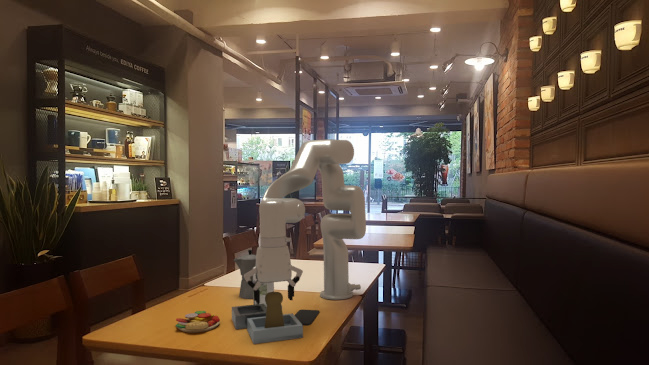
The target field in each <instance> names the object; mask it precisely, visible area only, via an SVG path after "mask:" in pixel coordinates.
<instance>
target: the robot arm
mask: <svg viewBox="0 0 649 365" xmlns="http://www.w3.org/2000/svg"><path fill="white" fill-rule="evenodd" d="M354 148H355V147H354V145H353V144H352V142H351V141H349V140H347V139H316V140H315V139H313V140H306V141H305V142H303V143H302V144H301V145H300V148H299V149H298V152H297V153H296V156H295V158H294V160H293V162H292V165H291V167H290V169H289V170H288V171H287V172H285V173H284V174H282V175H281V176H280V177H278V178H277V179H276V180H274V181H273V182H271V184H270V185H269V186H268V187H267V188H266V190H265V192H264V194H263V196H262V199H261V200H260V203H259V207H258V212H259V244H260V245H259V246H258V247H257V249H256V254H255V255H256V267H255V268H254V269H252V270H251V271H249V272H247V273H246V274H244V278H245V280H246V281H247V283H248V285H249V286H251V287H252V288H253V289H254V301H256V303H257V304H259V303H260V290H259V287H260V285H261V284H262V283H271V282H274V283H278V282H287V283H288V284H287V298H288V300H289V301H293V300H294V299H293V297H295V287H296V285H297V283H299V281H300V280H301V277H302V275H303V272H304V271H303V269H300V268H299V267H296V266H294V265H292V262H291V261H292V260H291V254H290V249H289V246H288V243H291V242H292V238H291V237H288V236H287V232H286V230H287V228H286V225H287V224H295V223H298V222H301V221H302V219H303V218H304V217H305V215H306V206H305V204H304V202H303V201H302V200H301V199H298V198H293V197H292V198H289V197H288V198H287V195H290V194H291V193H294V192H298V191H300V190H302V189H304V188H307V187H309V186H310V185H311V184H313V182H314V180H315V177H316V174H317V172H318V171H319V173H320V176H321V178H320V179H321V189H322V202H323V206H324V208H325V209H326V210H327V211H328V210H329V211H340V212H342V211H346V212H347V211H349V212H350V213H328V214H326V215H324V216H323V217H322V218H321V220H320V231H321V237H322V247H323V250H322V251H323V290H321V292H320V293H319V295H320V297H321V298H323V299H325V300H326V299H327V300H332V301H333V300H337V301H338V300H340V301H341V300H346V299H351V298H352V297H353V296H354V292H353V291H354V290H355V291H357V290H361V288H362V287H361V284H356V283H352V284H351V283H350V282H349V277H350V276H349V275H350V274H349V249H348V246H347V244H346V242H345V241H344V240H362V239H363V238H364V237H365V235H366V230H367V218H366V200H365V193H364V191H363V189H362V188H361V186H358V185H351V184H350V185H346V183H345V176H344V175H345V174H344V171H343V168H342V167H341V165H347V164H349V163H351V162H352V161H353V159H354V157H355V149H354ZM285 197H286V198H285ZM292 271H293V272H295V273H296V274H295V276H294V277H293V276H292V273H293V272H292ZM254 274H255V276H256V279H257V280H256V281H255V282H254V283H253V282H252V281H251V280H250V277H251V276H252V275H254ZM292 277H293V278H292Z"/></svg>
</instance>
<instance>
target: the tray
mask: <svg viewBox="0 0 649 365" xmlns="http://www.w3.org/2000/svg"><path fill="white" fill-rule="evenodd" d="M294 315H295V314H294V313H284V314H283V319H284V326H281V327H273V328H265V319H266V316H265V317H256V318H247V328H246V329H247V333H248V335H249V337H250V339H251V341H252V343H253V344H252V345H257V344H263V343H271V342H280V341H287V340H296V339H302V338H304V325H302V324H301V323H300V322H299V320H298V319H297V318H296V317H295V316H294ZM264 328H265V329H264Z"/></svg>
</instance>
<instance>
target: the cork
mask: <svg viewBox="0 0 649 365" xmlns="http://www.w3.org/2000/svg"><path fill="white" fill-rule="evenodd" d="M283 299H284V296H283V294H282V293H281V292H280V291H274V292H269V293H267V294H266V296H265V302H266V303H267V310H266V319H265V328H273V327H281V326H284V319H283V305H282V303H283V301H284V300H283ZM281 305H282V306H281ZM265 328H264V329H265Z"/></svg>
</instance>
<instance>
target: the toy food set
mask: <svg viewBox="0 0 649 365" xmlns="http://www.w3.org/2000/svg"><path fill="white" fill-rule="evenodd" d="M220 320H221V319H220V317H219V316H218V315H215V314H211V313H209V312H206V311H205V310H196V311H195V312H193V313H187V314H185V315H184V318H179V317H178V318H176V319H175V321H176V322H177V324H175V327H176V328H177V329H178V330H179V331H181V332H184V333H190V334H191V333H204V332H208V331H211V330H214V329H215V328H217V327H218V326H219V324H220V323H221V321H220Z"/></svg>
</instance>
